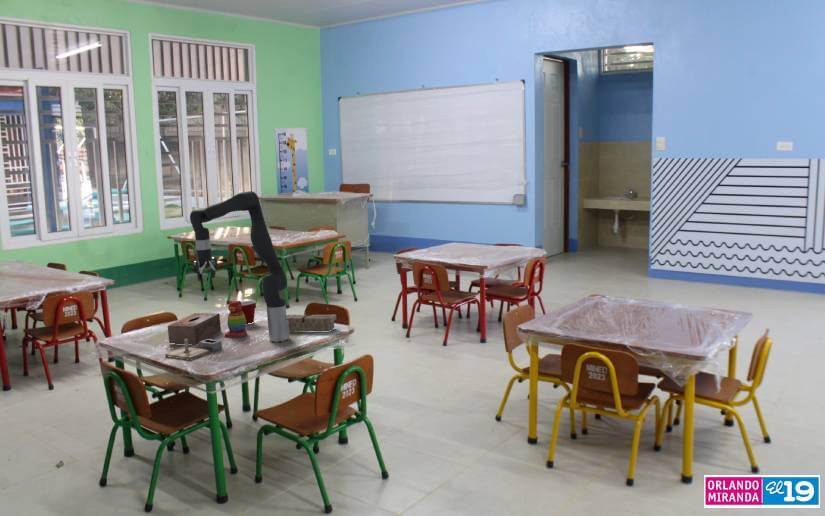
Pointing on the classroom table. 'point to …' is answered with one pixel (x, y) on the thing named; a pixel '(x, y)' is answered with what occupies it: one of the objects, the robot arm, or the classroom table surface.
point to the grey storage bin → (210, 345)
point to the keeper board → (187, 352)
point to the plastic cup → (248, 310)
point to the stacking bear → (236, 320)
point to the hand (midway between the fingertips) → (206, 279)
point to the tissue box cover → (194, 328)
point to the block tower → (311, 322)
